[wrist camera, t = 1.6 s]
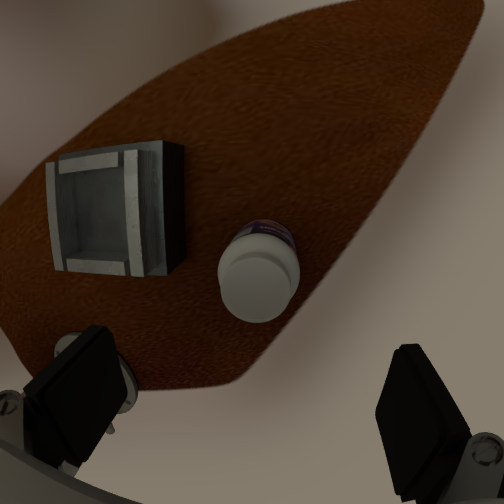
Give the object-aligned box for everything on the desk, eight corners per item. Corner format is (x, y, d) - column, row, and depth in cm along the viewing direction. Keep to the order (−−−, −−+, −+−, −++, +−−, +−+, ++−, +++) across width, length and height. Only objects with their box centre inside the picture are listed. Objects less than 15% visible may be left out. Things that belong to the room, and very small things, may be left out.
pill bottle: (308, 249, 26) (323, 293, 16) (263, 290, 27) (255, 349, 18) (263, 204, 25) (255, 224, 16) (220, 248, 26) (188, 289, 17)
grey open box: (186, 257, 27) (154, 287, 20) (96, 254, 28) (50, 278, 20) (183, 145, 24) (147, 136, 17) (90, 155, 25) (39, 155, 18)
